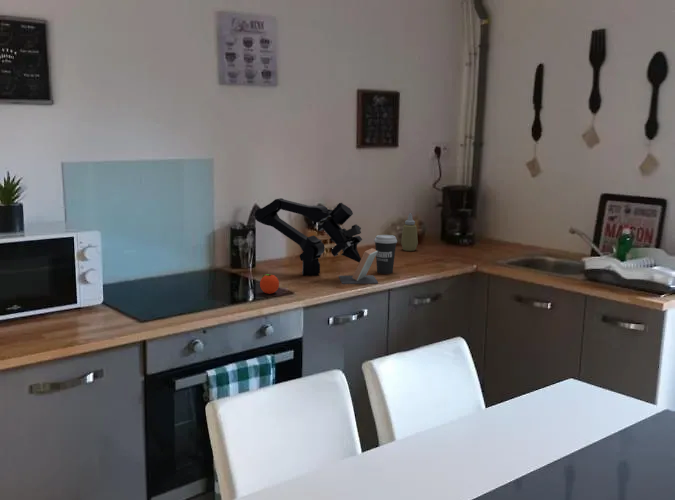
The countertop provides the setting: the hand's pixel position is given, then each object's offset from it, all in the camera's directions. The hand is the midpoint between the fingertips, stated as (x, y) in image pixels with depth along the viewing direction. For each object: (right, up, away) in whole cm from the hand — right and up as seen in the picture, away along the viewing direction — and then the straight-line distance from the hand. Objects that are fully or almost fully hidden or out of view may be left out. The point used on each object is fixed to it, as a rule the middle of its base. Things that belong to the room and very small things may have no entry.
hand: (360, 261), depth 274 cm
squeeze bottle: (+26, +4, +65) cm, 70 cm away
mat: (-1, -7, +1) cm, 7 cm away
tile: (+2, -1, -1) cm, 2 cm away
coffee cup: (+11, -5, +16) cm, 20 cm away
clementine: (-34, -11, -21) cm, 41 cm away
